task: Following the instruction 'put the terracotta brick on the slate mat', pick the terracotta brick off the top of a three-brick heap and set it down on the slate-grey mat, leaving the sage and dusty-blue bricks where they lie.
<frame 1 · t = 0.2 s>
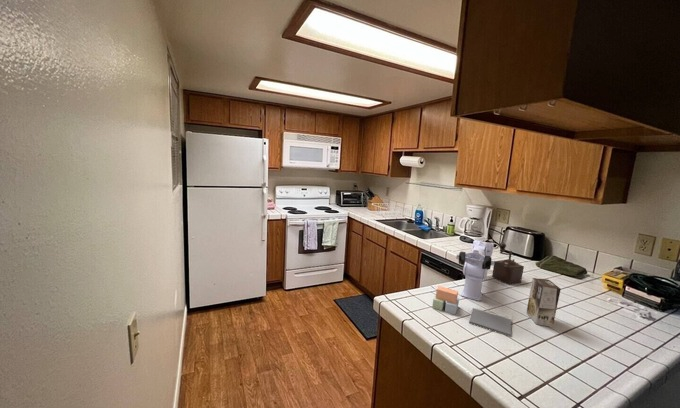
hand: (472, 264, 113), 21 cm above the counter, tool horizontal, fingers open, 7 cm apart
terracotta brick: (446, 298, 120), point 4 cm above the counter, touching blue brick, sage brick
sage brick: (439, 305, 122), on the counter, touching terracotta brick
coffee box: (538, 320, 115), on the counter
blue brick: (451, 309, 119), on the counter, touching terracotta brick
slate mat: (490, 322, 111), on the counter
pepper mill: (502, 278, 156), on the counter
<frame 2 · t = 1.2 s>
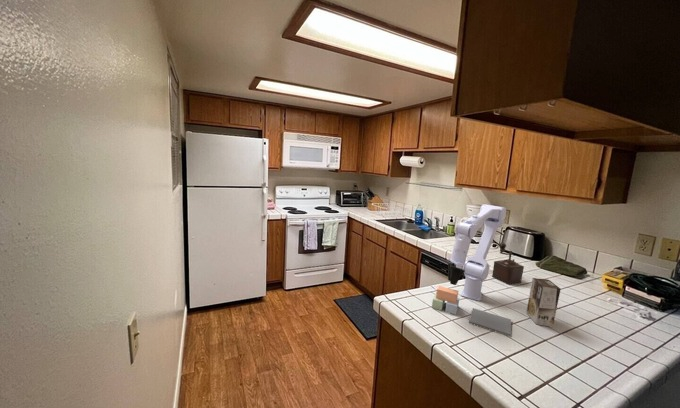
hand: (451, 282, 117), 12 cm above the counter, tool tilted 15°, fingers open, 7 cm apart
nothing on the counter moved.
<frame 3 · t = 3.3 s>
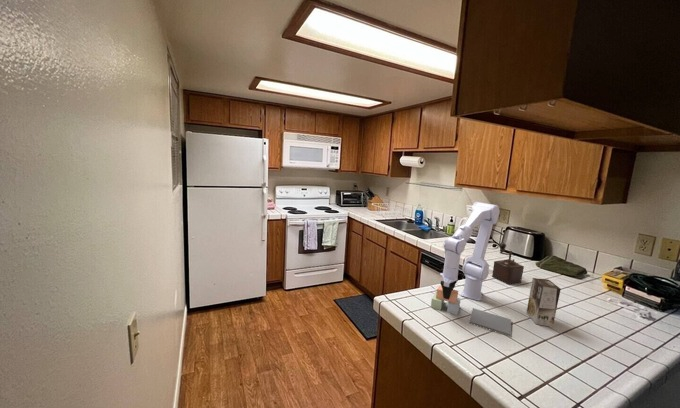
hand: (447, 296, 120), 5 cm above the counter, tool pointing down, fingers closed on terracotta brick, 4 cm apart
terracotta brick: (446, 298, 120), point 4 cm above the counter, touching gripper
sage brick: (437, 304, 122), on the counter
blue brick: (453, 309, 119), on the counter
everything else where it was.
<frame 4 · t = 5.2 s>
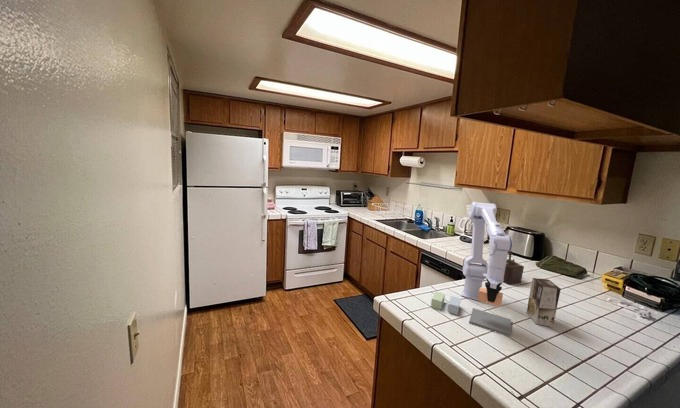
hand: (491, 299, 110), 9 cm above the counter, tool pointing down, fingers closed on terracotta brick, 4 cm apart
terracotta brick: (489, 301, 110), point 8 cm above the counter, touching gripper
everything else where it was.
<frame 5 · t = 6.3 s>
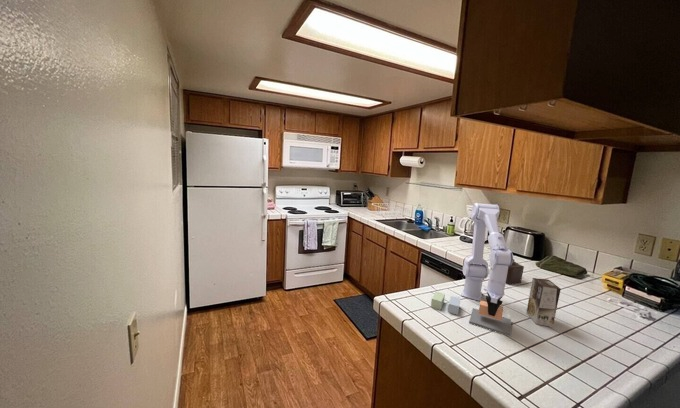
hand: (491, 312, 110), 4 cm above the counter, tool pointing down, fingers closed on terracotta brick, 4 cm apart
terracotta brick: (490, 314, 111), point 3 cm above the counter, touching gripper
everything else where it was.
when the fingers open (3 cm above the counter, at t = 7.3 s): terracotta brick drops 1 cm, resting on slate mat.
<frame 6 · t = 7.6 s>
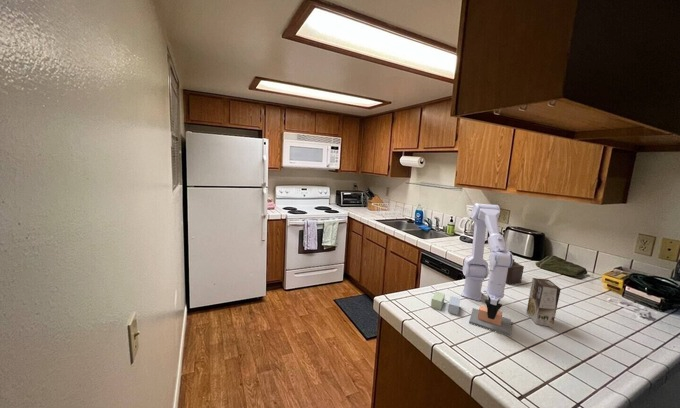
hand: (491, 314, 111), 3 cm above the counter, tool pointing down, fingers open, 7 cm apart
terracotta brick: (489, 319, 111), point 1 cm above the counter, touching slate mat
everything else where it was.
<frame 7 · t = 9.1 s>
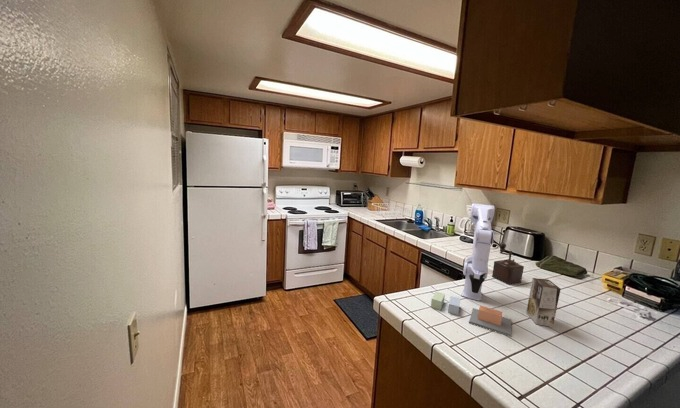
hand: (475, 289, 118), 9 cm above the counter, tool pointing down, fingers open, 7 cm apart
nothing on the counter moved.
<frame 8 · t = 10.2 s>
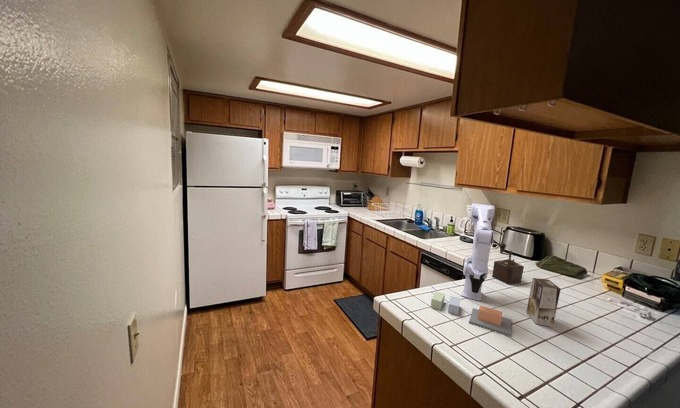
hand: (475, 289, 118), 9 cm above the counter, tool pointing down, fingers open, 7 cm apart
nothing on the counter moved.
at the end: terracotta brick inside the target area on the slate mat (0.5 cm from its centre), point 0.8 cm above the slate mat's base; sage brick moved 1.0 cm from its start; blue brick moved 0.7 cm from its start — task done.
